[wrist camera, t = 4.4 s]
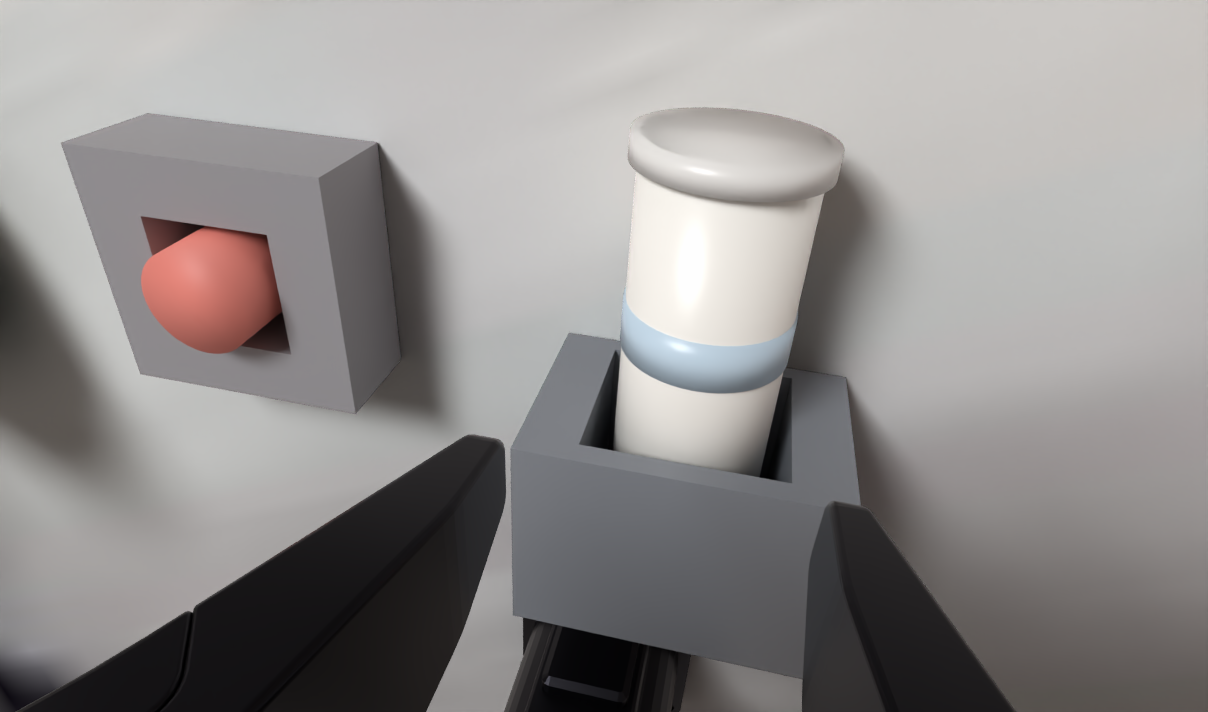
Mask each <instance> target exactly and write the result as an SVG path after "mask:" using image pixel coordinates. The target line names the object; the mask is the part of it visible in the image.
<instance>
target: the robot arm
mask: <svg viewBox="0 0 1208 712" xmlns="http://www.w3.org/2000/svg"><path fill="white" fill-rule="evenodd" d="M505 498H506V475H505V448H504V445H503V443H502V442H501V441H500V440H499V439H496V438H490V437H485V436H479V435H467V436H464V437H462V438H461V439H459V440H458V441H456V442H455V443H453V444H451V445H450V446H448V447H447V448H445V449H443V450H442V451H440V452H439V453H437V454H436V455H434V456H432V457H431V458H429V459H428V460H426V461H424V462H423V463H421V464H420V465H418V466H416V467H415V468H413V469H412V470H410V471H409V472H407V473H405V474H404V475H402V476H401V477H399V478H397V479H396V480H394V481H393V482H391V483H390V484H388V485H386V486H385V487H383V488H382V489H380V490H378V491H377V492H375V493H374V494H372V495H370V496H369V497H367V498H366V499H364V500H363V501H361V502H359V503H358V504H356V505H355V506H353V507H351V508H350V509H348V510H347V511H345V512H344V513H342V514H340V515H339V516H337V517H336V518H334V519H332V520H331V521H329V522H328V523H326V524H324V525H323V526H321V527H320V528H318V529H317V530H315V531H313V532H312V533H310V534H309V535H307V536H305V537H304V538H302V539H301V540H299V541H298V542H296V543H294V544H293V545H291V546H290V547H288V548H286V549H285V550H283V551H282V552H280V553H278V554H277V555H275V556H274V557H272V558H271V559H269V560H267V561H266V562H264V563H263V564H261V565H259V566H258V567H256V568H255V569H253V570H252V571H250V572H248V573H247V574H245V575H244V576H242V577H240V578H239V579H237V580H236V581H234V582H232V583H231V584H229V585H228V586H226V587H225V588H223V589H221V590H220V591H218V592H217V593H215V594H213V595H212V596H210V597H209V598H207V599H205V600H204V601H202V602H201V603H199V604H198V605H196V606H195V608H194V610H193V613H192V612H190V611H187V612H184V613H183V614H181V615H180V616H178V617H176V618H175V619H173V620H172V621H170V622H168V623H167V624H165V625H164V626H162V627H161V628H159V629H157V630H156V631H154V632H153V633H151V634H149V635H148V636H146V637H145V638H143V639H141V640H140V641H138V642H136V643H135V644H133V645H131V646H130V647H128V648H126V649H125V650H123V651H121V652H120V653H118V654H116V655H115V656H113V657H111V658H110V659H108V660H106V661H105V662H103V663H101V664H100V665H98V666H96V667H95V668H93V669H92V670H90V671H88V672H86V673H85V674H83V675H81V676H79V677H78V678H76V679H74V680H72V681H70V682H69V683H67V684H65V685H63V686H61V687H60V688H58V689H56V690H54V691H52V692H51V693H49V694H47V695H45V696H43V697H42V698H40V699H38V700H36V701H34V702H33V703H31V704H29V705H27V706H26V707H24V708H22V709H20V710H18V711H17V712H426V711H427V708H428V706H429V704H430V702H431V700H432V698H433V696H434V693H435V691H436V689H437V687H438V685H439V683H440V681H441V678H442V676H443V674H444V672H445V670H446V668H447V665H448V663H449V661H450V659H451V657H452V655H453V653H454V650H455V648H456V646H457V643H458V641H459V639H460V636H461V634H462V632H463V629H464V626H465V624H466V621H467V618H468V615H469V612H470V609H471V606H472V603H473V600H474V597H475V594H476V591H477V588H478V585H479V582H480V579H481V576H482V573H483V570H484V567H485V564H486V561H487V558H488V555H489V552H490V549H491V546H492V543H493V540H494V537H495V534H496V531H497V528H498V525H499V522H500V519H501V516H502V513H503V509H504V504H505ZM690 657H691V654H686V653H682V652H677V651H673V650H668V649H664V648H659V647H655V646H650V645H646V644H641V643H637V642H632V641H627V640H623V639H618V638H614V637H609V636H605V635H600V634H596V633H591V632H587V631H582V630H578V629H573V628H569V627H564V626H560V625H555V624H551V623H546V622H542V621H537V620H533V619H528V618H523V659H522V662H521V665H520V667H519V670H518V673H517V676H516V679H515V682H514V685H513V688H512V690H511V693H510V696H509V699H508V702H507V705H506V708H505V710H504V712H679V711H680V708H681V702H682V697H683V692H684V687H685V682H686V677H687V672H688V667H689V662H690ZM802 712H1016V711H1015V710H1014V708H1013V707H1012V706H1011V704H1010V703H1009V701H1008V700H1007V699H1006V697H1005V696H1004V694H1003V693H1002V692H1001V690H1000V689H999V687H998V686H997V685H996V683H995V682H994V681H993V679H992V678H991V676H990V675H989V674H988V672H987V671H986V669H985V668H984V667H983V665H982V664H981V663H980V661H979V660H978V658H977V657H976V656H975V654H974V653H973V651H972V650H971V649H970V647H969V646H968V645H967V643H966V642H965V640H964V639H963V638H962V636H961V635H960V633H959V632H958V631H957V629H956V628H955V627H954V625H953V624H952V622H951V621H950V620H949V618H948V617H947V615H946V614H945V613H944V611H943V610H942V609H941V607H940V606H939V604H938V603H937V602H936V600H935V599H934V597H933V596H932V595H931V593H930V592H929V590H928V589H927V588H926V586H925V585H924V584H923V582H922V581H921V579H920V578H919V577H918V575H917V574H916V572H915V571H914V570H913V568H912V567H911V566H910V564H909V563H908V561H907V560H906V559H905V557H904V556H903V554H902V553H901V552H900V550H899V549H898V548H897V546H896V545H895V543H894V542H893V541H892V539H891V538H890V536H889V535H888V534H887V532H886V531H885V530H884V528H883V527H882V525H881V524H880V523H879V521H878V520H877V518H876V517H875V516H874V514H873V513H872V512H871V511H870V510H869V509H868V508H867V507H864V506H861V505H855V504H850V503H844V502H839V501H831V502H829V503H828V504H827V505H826V507H825V510H824V513H823V516H822V519H821V523H820V526H819V529H818V533H817V536H816V539H815V543H814V546H813V549H812V553H811V558H810V563H809V571H808V589H807V608H806V627H805V646H804V665H803V687H802Z"/></svg>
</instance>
